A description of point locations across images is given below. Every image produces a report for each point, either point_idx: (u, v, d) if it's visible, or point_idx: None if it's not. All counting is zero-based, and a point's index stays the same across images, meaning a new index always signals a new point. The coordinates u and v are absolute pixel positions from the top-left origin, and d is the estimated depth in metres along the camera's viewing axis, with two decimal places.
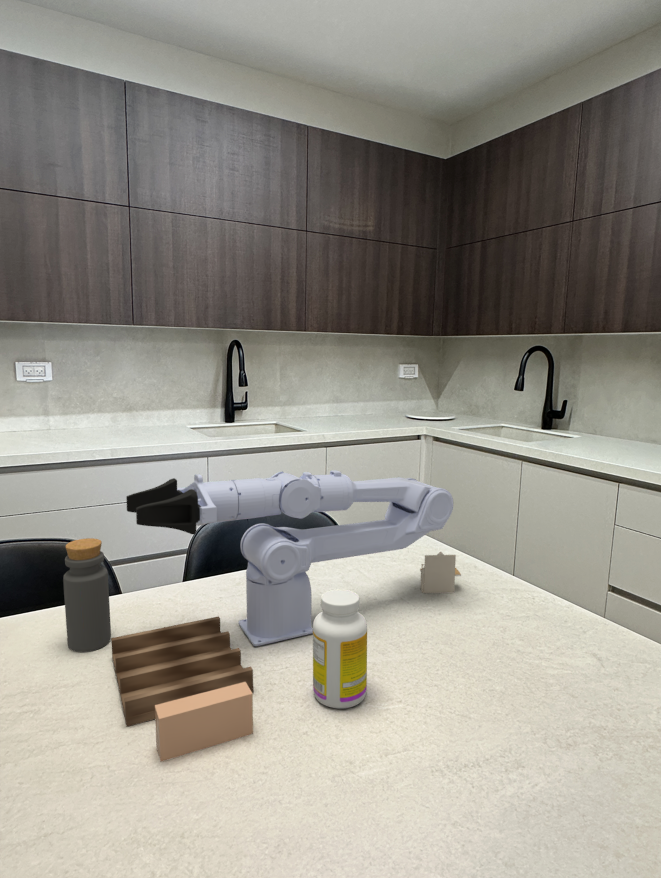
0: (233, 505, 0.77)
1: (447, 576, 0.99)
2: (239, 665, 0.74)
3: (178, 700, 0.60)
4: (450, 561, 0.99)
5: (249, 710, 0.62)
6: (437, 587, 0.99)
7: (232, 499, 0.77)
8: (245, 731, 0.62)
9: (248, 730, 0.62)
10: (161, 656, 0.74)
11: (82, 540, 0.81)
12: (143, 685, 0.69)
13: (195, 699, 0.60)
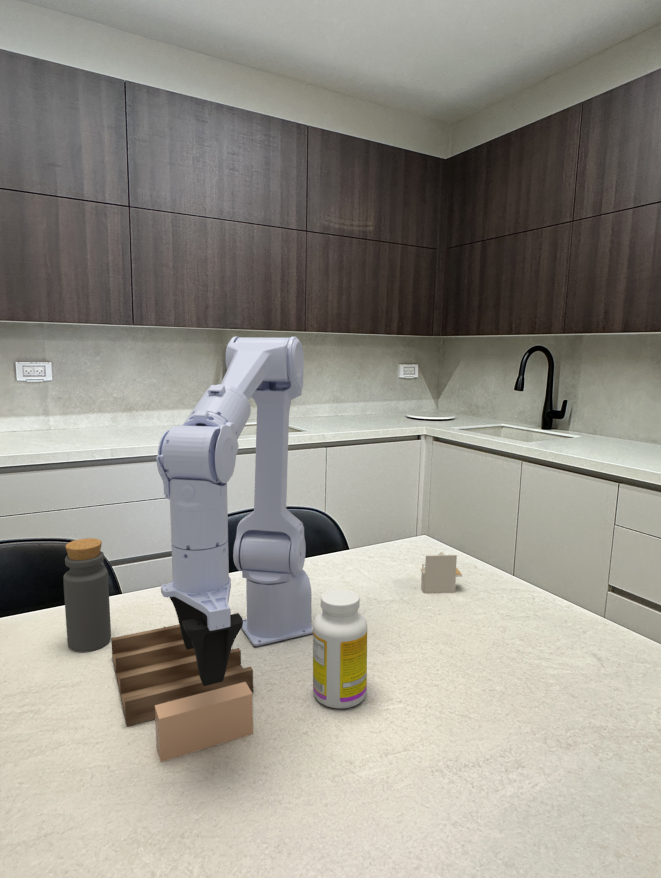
0: (207, 555, 0.55)
1: (448, 576, 0.99)
2: (239, 665, 0.74)
3: (178, 700, 0.60)
4: (451, 561, 0.99)
5: (249, 710, 0.62)
6: (438, 587, 0.99)
7: (199, 558, 0.55)
8: (245, 731, 0.62)
9: (248, 730, 0.62)
10: (161, 656, 0.74)
11: (82, 540, 0.81)
12: (143, 685, 0.69)
13: (195, 699, 0.60)
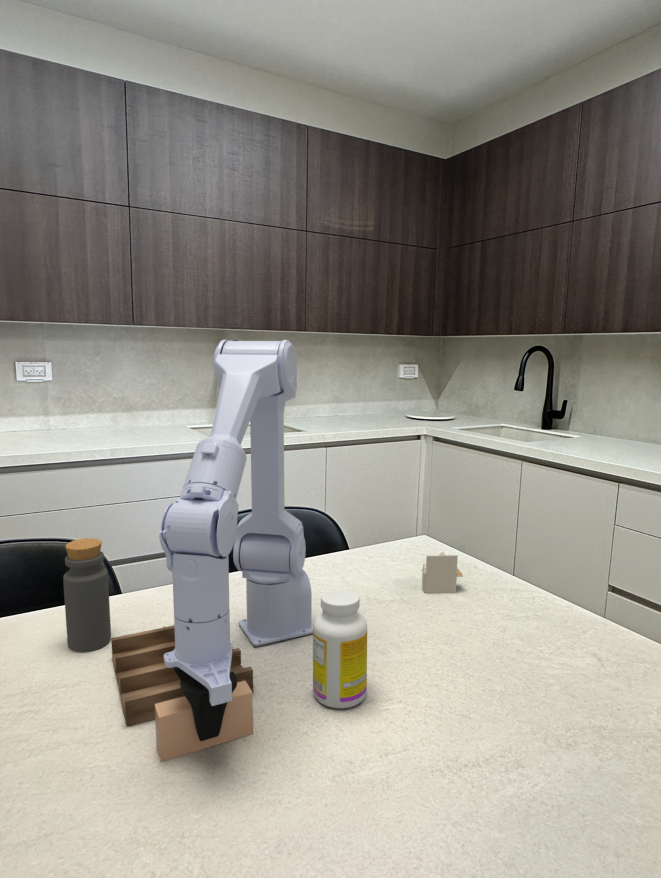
0: (209, 627, 0.57)
1: (449, 577, 0.99)
2: (239, 665, 0.74)
3: (178, 699, 0.60)
4: (452, 562, 0.99)
5: (249, 709, 0.62)
6: (439, 588, 0.99)
7: (201, 630, 0.56)
8: (245, 730, 0.62)
9: (248, 729, 0.62)
10: (161, 656, 0.74)
11: (82, 540, 0.81)
12: (143, 685, 0.69)
13: None
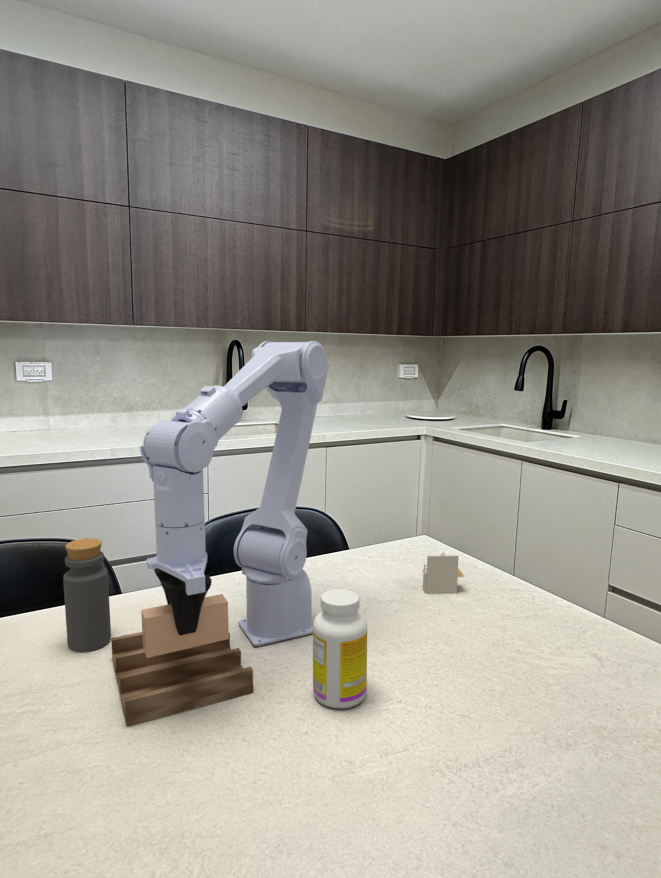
0: (186, 532, 0.65)
1: (450, 577, 0.99)
2: (239, 665, 0.74)
3: (162, 606, 0.69)
4: (453, 562, 0.98)
5: (225, 617, 0.70)
6: (440, 588, 0.99)
7: (179, 534, 0.64)
8: (221, 635, 0.70)
9: (225, 634, 0.70)
10: (161, 656, 0.74)
11: (82, 540, 0.81)
12: (143, 685, 0.69)
13: None
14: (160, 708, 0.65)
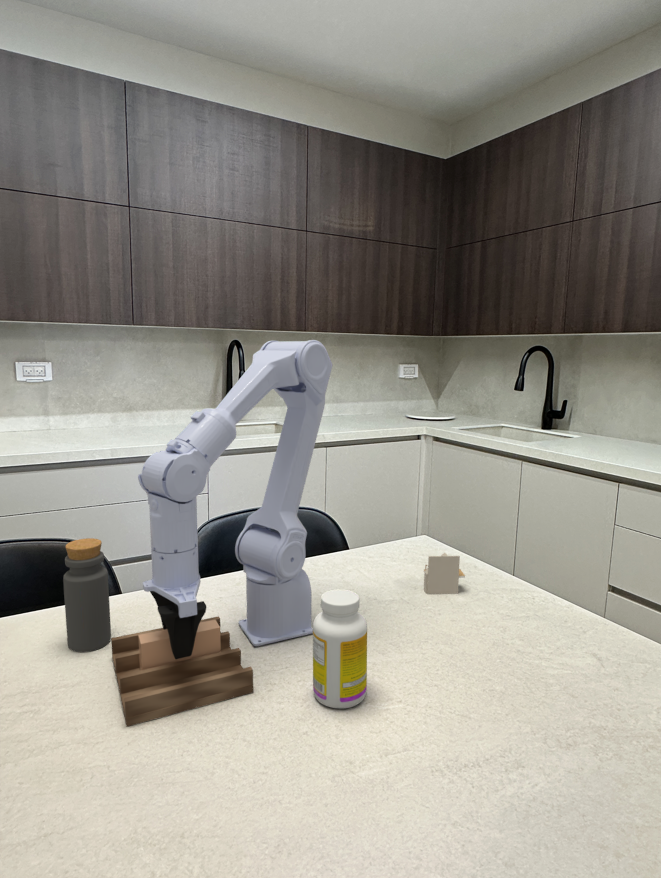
0: (180, 557, 0.69)
1: (451, 577, 0.99)
2: (239, 665, 0.74)
3: (158, 631, 0.73)
4: (454, 562, 0.98)
5: (217, 642, 0.74)
6: (441, 588, 0.99)
7: (173, 559, 0.68)
8: None
9: None
10: None
11: (82, 540, 0.81)
12: (143, 685, 0.69)
13: None
14: (160, 708, 0.65)
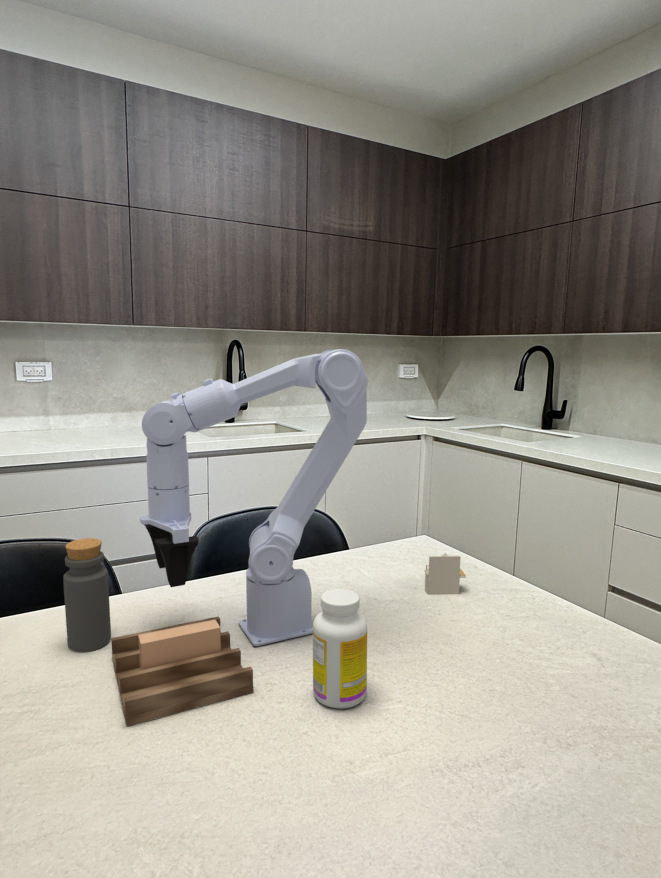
0: (173, 494, 0.78)
1: (452, 577, 0.99)
2: (239, 665, 0.74)
3: (158, 631, 0.73)
4: (455, 562, 0.98)
5: (217, 642, 0.74)
6: (442, 588, 0.99)
7: (167, 495, 0.78)
8: None
9: None
10: None
11: (82, 540, 0.81)
12: (143, 685, 0.69)
13: (172, 631, 0.73)
14: (160, 708, 0.65)
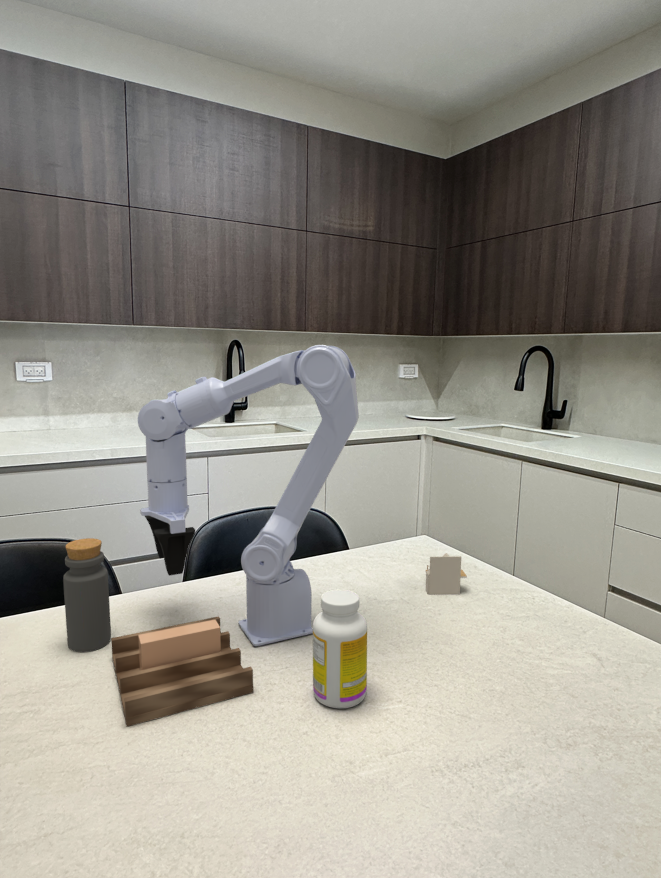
0: (171, 486, 0.82)
1: (452, 578, 0.98)
2: (239, 665, 0.74)
3: (158, 631, 0.73)
4: (456, 563, 0.98)
5: (217, 642, 0.74)
6: (442, 589, 0.99)
7: (165, 488, 0.82)
8: None
9: None
10: None
11: (82, 540, 0.81)
12: (143, 685, 0.69)
13: (172, 631, 0.73)
14: (160, 708, 0.65)
